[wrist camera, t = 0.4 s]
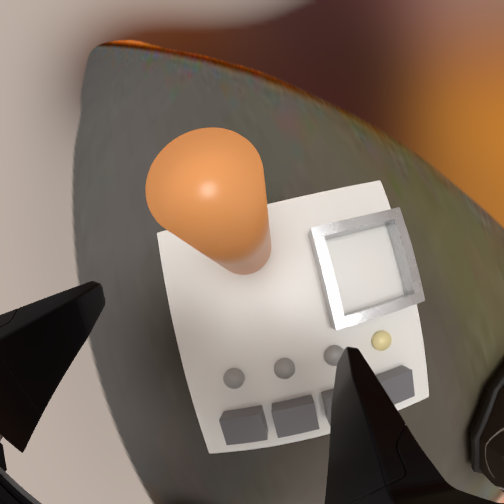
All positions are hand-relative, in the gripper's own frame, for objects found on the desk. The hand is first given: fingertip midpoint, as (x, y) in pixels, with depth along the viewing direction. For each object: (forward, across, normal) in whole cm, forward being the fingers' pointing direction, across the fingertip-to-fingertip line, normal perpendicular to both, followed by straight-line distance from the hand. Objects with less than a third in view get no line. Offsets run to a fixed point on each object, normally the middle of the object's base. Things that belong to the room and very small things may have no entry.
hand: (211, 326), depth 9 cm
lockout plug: (+13, +2, +4) cm, 14 cm away
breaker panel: (+11, -4, +8) cm, 15 cm away
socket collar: (+13, -8, +4) cm, 16 cm away
